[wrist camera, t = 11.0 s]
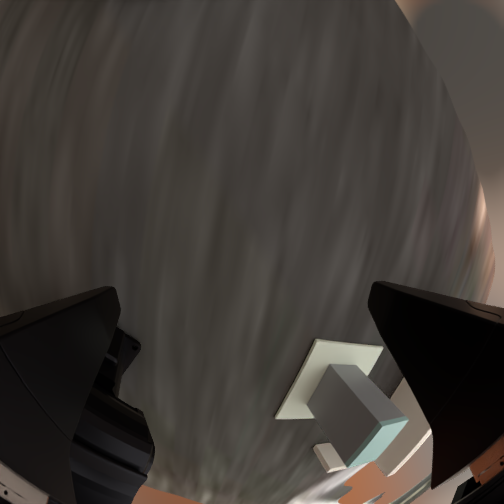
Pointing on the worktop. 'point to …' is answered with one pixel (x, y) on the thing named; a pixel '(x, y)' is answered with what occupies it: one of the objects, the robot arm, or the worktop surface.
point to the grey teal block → (354, 414)
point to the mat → (315, 369)
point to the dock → (402, 443)
